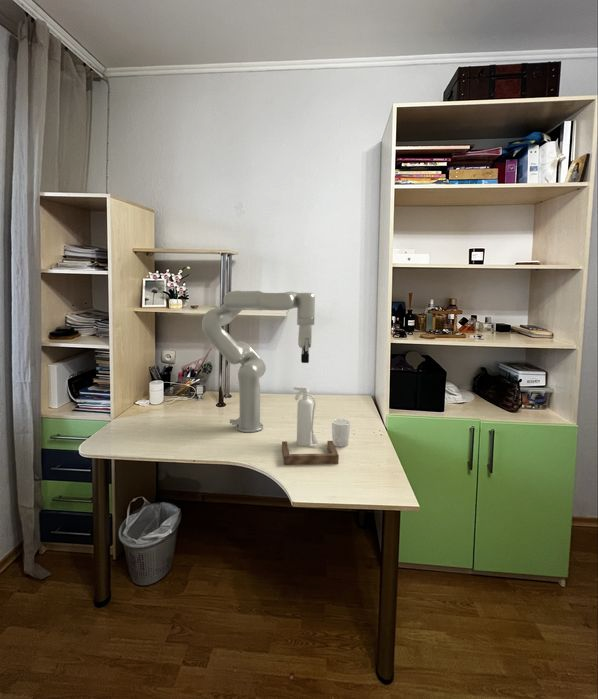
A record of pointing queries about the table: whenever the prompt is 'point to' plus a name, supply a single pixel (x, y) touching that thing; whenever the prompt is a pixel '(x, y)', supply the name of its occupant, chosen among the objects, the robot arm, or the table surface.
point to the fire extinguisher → (305, 417)
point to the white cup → (340, 432)
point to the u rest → (310, 456)
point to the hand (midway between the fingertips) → (304, 362)
